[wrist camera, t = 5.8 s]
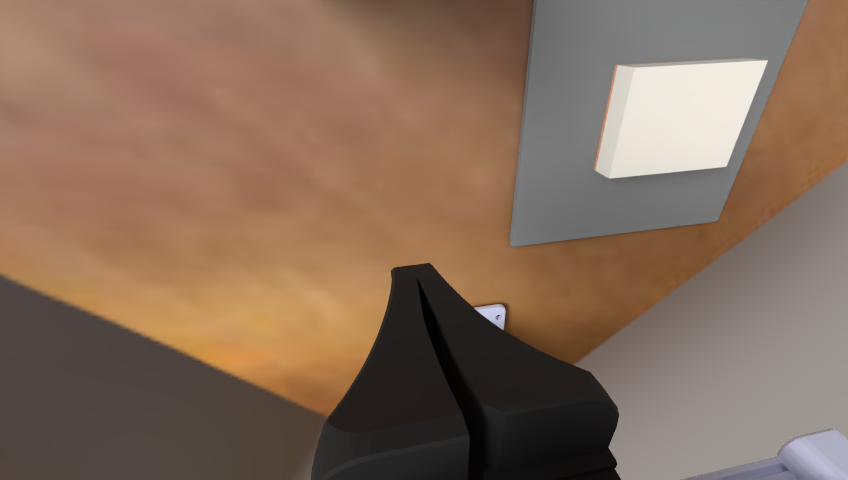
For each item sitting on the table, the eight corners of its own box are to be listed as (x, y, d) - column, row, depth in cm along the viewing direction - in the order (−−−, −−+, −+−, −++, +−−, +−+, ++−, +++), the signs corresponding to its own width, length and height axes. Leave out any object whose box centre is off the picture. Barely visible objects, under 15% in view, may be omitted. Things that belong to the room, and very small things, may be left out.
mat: (712, 218, 28) (717, 221, 28) (509, 244, 26) (511, 247, 25) (821, -50, 20) (829, -51, 20) (538, -48, 18) (542, -49, 17)
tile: (593, 169, 24) (705, 158, 25) (608, 178, 22) (726, 166, 23) (615, 64, 21) (741, 58, 22) (634, 67, 19) (768, 60, 20)
